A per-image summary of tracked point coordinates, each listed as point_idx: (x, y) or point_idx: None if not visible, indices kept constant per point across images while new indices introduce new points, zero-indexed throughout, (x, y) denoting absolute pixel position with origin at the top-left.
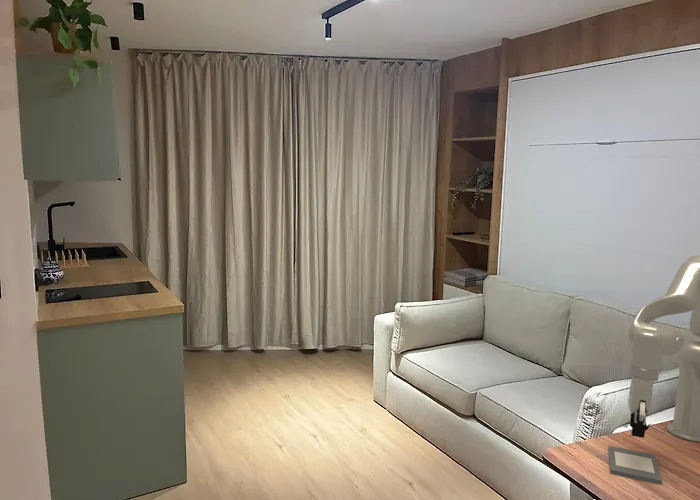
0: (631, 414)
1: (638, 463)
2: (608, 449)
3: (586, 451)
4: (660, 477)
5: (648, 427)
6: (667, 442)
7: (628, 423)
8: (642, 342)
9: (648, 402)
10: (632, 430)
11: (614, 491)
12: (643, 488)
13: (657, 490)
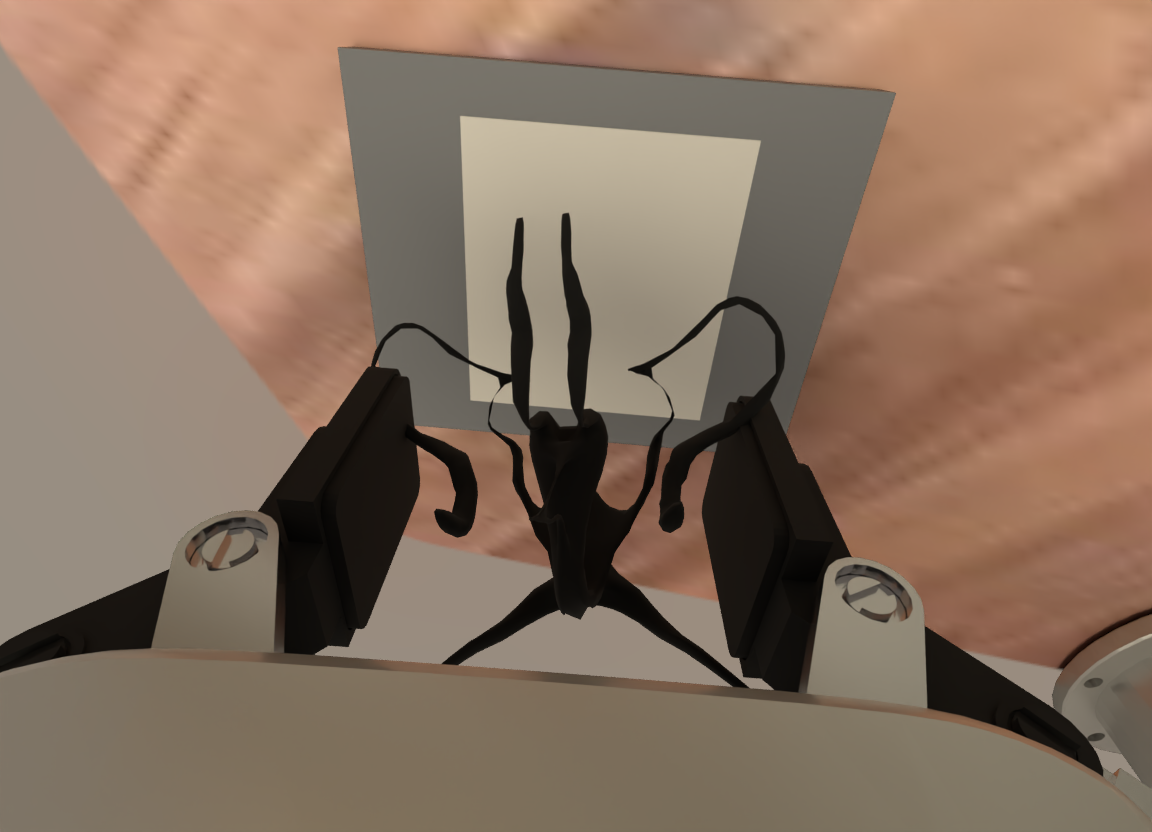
0: (789, 526)
1: None
2: (847, 87)
3: None
4: (428, 422)
5: (514, 614)
6: (1049, 553)
7: (761, 389)
8: None
9: None
10: (345, 405)
11: (48, 46)
12: (268, 288)
13: (301, 369)
